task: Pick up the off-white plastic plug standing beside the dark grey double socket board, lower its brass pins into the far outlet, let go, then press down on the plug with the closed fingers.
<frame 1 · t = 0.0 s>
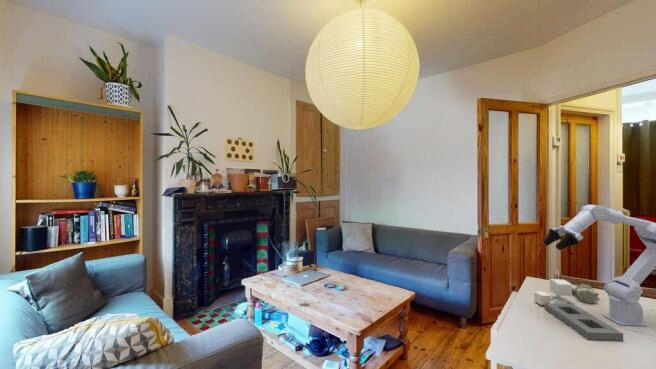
hand: (550, 246, 118), 32 cm above the table, fingers open, 7 cm apart
plug: (542, 304, 131), on the table
security camera: (559, 301, 135), on the table
socket board: (579, 323, 114), on the table
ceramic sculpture: (585, 299, 136), on the table
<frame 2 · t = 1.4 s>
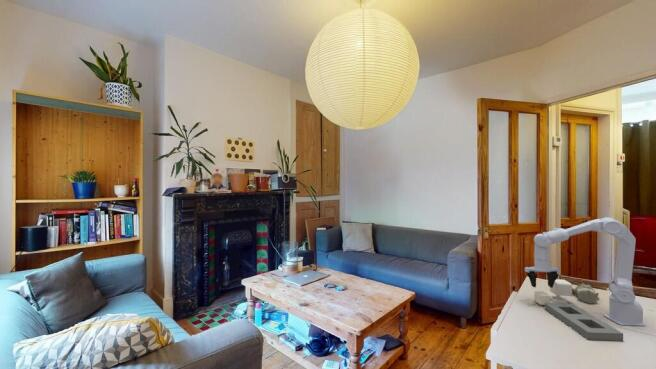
hand: (541, 286, 131), 9 cm above the table, fingers open, 7 cm apart
nothing on the table moved.
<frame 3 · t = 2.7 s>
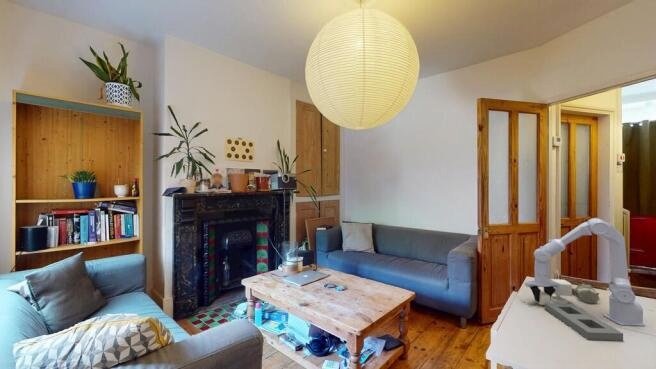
hand: (542, 301, 131), 2 cm above the table, fingers closed on plug, 4 cm apart
plug: (542, 304, 131), on the table, touching gripper
everything else where it was.
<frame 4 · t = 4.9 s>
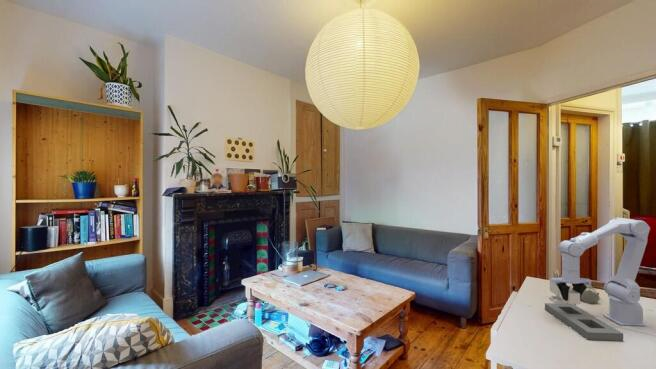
hand: (570, 300, 117), 9 cm above the table, fingers closed on plug, 4 cm apart
plug: (570, 303, 117), point 7 cm above the table, touching gripper
everything else where it was.
when the fingers open (4 cm above the table, at t = 7.0 s): plug drops 2 cm, resting on socket board.
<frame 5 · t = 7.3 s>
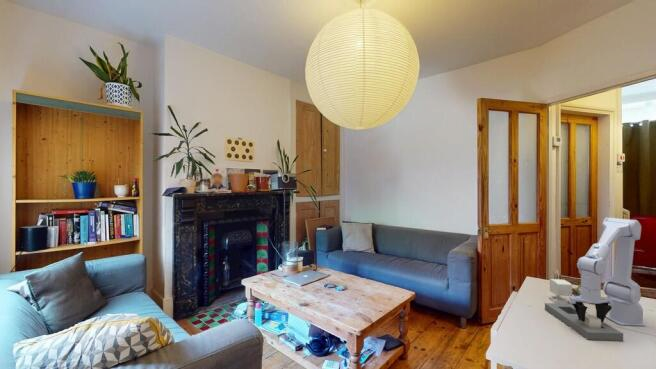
hand: (590, 320, 108), 4 cm above the table, fingers open, 6 cm apart
plug: (590, 329, 109), resting on socket board
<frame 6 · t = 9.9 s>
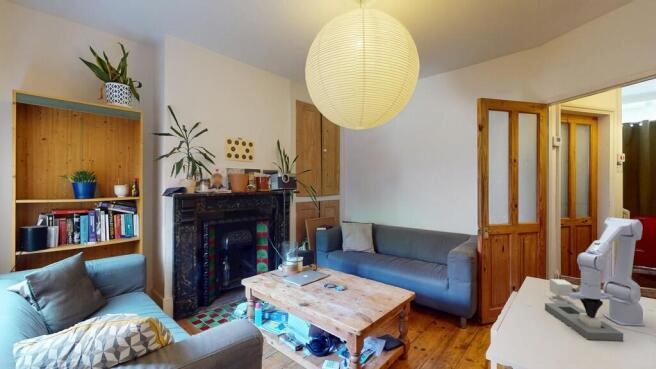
hand: (590, 316, 108), 6 cm above the table, fingers closed
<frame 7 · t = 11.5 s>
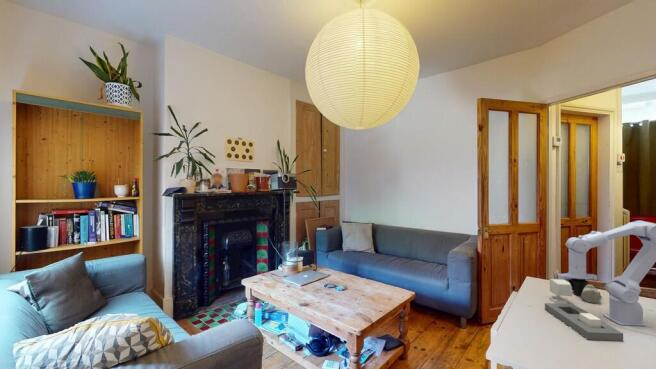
hand: (577, 295, 120), 9 cm above the table, fingers closed
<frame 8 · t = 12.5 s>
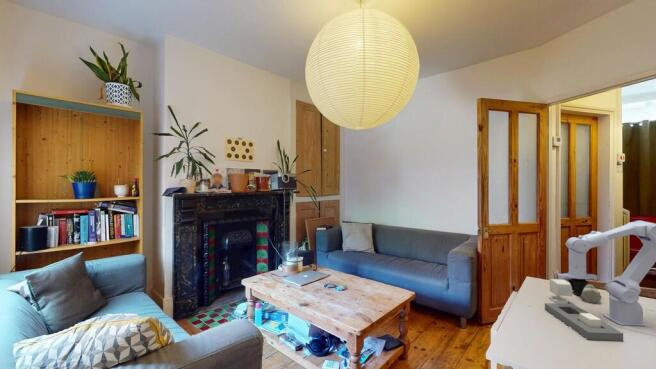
hand: (577, 295, 120), 9 cm above the table, fingers closed
at the end: plug 0.4 cm from the target spot on the socket board, point 0.3 cm above the socket board's base; plug tilted 0°; the gripper is holding nothing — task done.
